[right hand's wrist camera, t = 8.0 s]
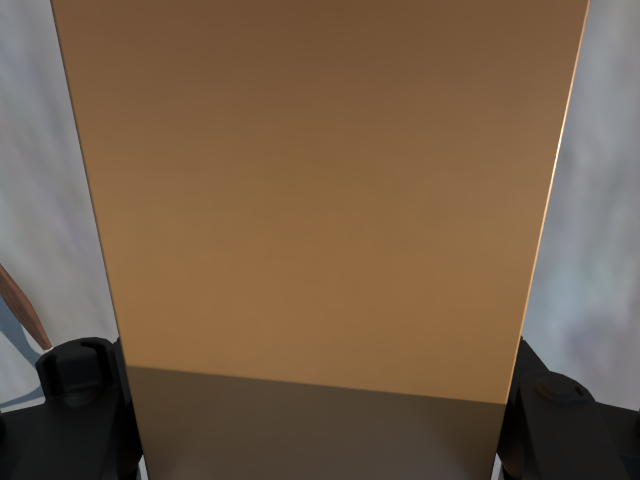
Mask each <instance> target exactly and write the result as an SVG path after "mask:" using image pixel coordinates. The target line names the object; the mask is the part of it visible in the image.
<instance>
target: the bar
mask: <svg viewBox="0 0 640 480" xmlns="http://www.w3.org/2000/svg"><path fill="white" fill-rule="evenodd" d="M590 1H591V0H50V3H51V7H52V12H53V17H54V22H55V27H56V32H57V37H58V42H59V46H60V51H61V56H62V61H63V66H64V71H65V76H66V80H67V85H68V90H69V95H70V100H71V105H72V110H73V115H74V119H75V124H76V129H77V134H78V139H79V144H80V149H81V154H82V158H83V163H84V168H85V173H86V178H87V183H88V188H89V193H90V197H91V202H92V207H93V212H94V217H95V222H96V227H97V232H98V236H99V241H100V246H101V251H102V256H103V261H104V266H105V270H106V275H107V280H108V285H109V290H110V295H111V300H112V305H113V309H114V314H115V319H116V324H117V329H118V334H119V339H120V344H121V348H122V353H123V358H124V363H125V368H126V373H127V378H128V383H129V387H130V392H131V397H132V402H133V407H134V412H135V417H136V422H137V426H138V431H139V436H140V441H141V446H142V451H143V456H144V460H145V465H146V470H147V475H148V480H491V476H492V471H493V466H494V462H495V457H496V452H497V447H498V442H499V438H500V433H501V428H502V423H503V418H504V414H505V409H506V404H507V399H508V394H509V390H510V385H511V380H512V375H513V370H514V366H515V361H516V356H517V351H518V346H519V342H520V337H521V332H522V327H523V322H524V318H525V313H526V308H527V303H528V298H529V294H530V289H531V284H532V279H533V274H534V270H535V265H536V260H537V255H538V250H539V246H540V241H541V236H542V231H543V226H544V222H545V217H546V212H547V207H548V202H549V198H550V193H551V188H552V183H553V178H554V173H555V169H556V164H557V159H558V154H559V149H560V145H561V140H562V135H563V130H564V125H565V121H566V116H567V111H568V106H569V101H570V97H571V92H572V87H573V82H574V77H575V73H576V68H577V63H578V58H579V53H580V49H581V44H582V39H583V34H584V29H585V25H586V20H587V15H588V10H589V5H590Z"/></svg>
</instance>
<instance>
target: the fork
mask: <svg viewBox="0 0 640 480" xmlns="http://www.w3.org/2000/svg"><path fill="white" fill-rule="evenodd" d="M0 294H1V295H2V297H3V299H4V301H5V302H6V304H7V306H8V307H9V309H10V310H11V311H12V313H13V314H14V315H15V317H16V318H17V319H18V320H19V322H20V323H21V324H22V325H23V326H24V328H25V329H26V330H27V331H28V332H29V334H30V335H31V336H32V337H33V338H34V339H35V341H36V342H37V343H38V344H39V345H40V346H41V348H42V349H43V350H44V351H45V353H47V352H48V351H50V350H51V349H53V347H52V345H51V343H50V341H49V339H48V337H47V335H46V333H45V331H44V328H43V326H42V324H41V322H40V320H39V318H38V316H37V314H36V312H35V310H34V308H33V307H32V305H31V303H30V302H29V300H28V299H27V297H26V296H25V294H24V293H23V292H22V290H21V289H20V288H19V287H18V285H17V284H16V283H15V282H14V280H13V279H12V278H11V277H10V275H9V274H8V273H7V272H6V270H5V269H4V268H3V266H2V265H1V264H0Z"/></svg>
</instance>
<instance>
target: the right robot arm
mask: <svg viewBox="0 0 640 480" xmlns="http://www.w3.org/2000/svg"><path fill="white" fill-rule="evenodd" d="M35 366H36V369H37V372H38V376H39V379H40V382H41V385H42V389H43V392H44V395H45V399H46V400H45V402H44V404H40V405H37V406H32V407H28V408H23V409H19V410H14V411H9V412H5V413H1V411H0V480H141V473H140V468H139V461H140V459H141V457H142V455H143V451H142V446H141V441H140V436H139V431H138V426H137V422H136V417H135V412H134V407H133V402H132V397H131V392H130V387H129V383H128V378H127V373H126V368H125V363H124V358H123V353H122V348H121V344H120V339H119V337H118V338H117V342H114V343H113V344H112V343H111V342H110V341H108V340H107V339H103V338H98V337H89V338H80V339H76V340H72V341H68V342H66V343H63V344H61V345H59V346H56V347H54V348H53V349H51V350H50V351H48V352H47V353H45V354H44V355H42V356H41V357H40V359H39V360H38V361H37V362H36V363H35ZM497 454H498V456H499V458H500V460H501V462H502V463H501V468H500V473H499V477H498V480H640V409H639V411H634V410H630V409H625V408H620V407H616V406H611V405H606V404H602V403H599V402H596V401H595V399H594V398H593V396H592V395H591V394H590V392H589V391H588V390H587V389H586V388H585V387H583V386H582V385H581V384H580V383H578V382H577V381H575V380H573V379H571V378H569V377H567V376H565V375H563V374H559V373H555V372H552V371H549V370H548V368H547V367H546V366H545V365H544V363H543V362H542V361H541V360H540V358H539V357H538V356H537V355H536V353H535V352H534V351H533V350H532V348H531V347H530V346H529V345H528V343H527V342H526V341H525V340H523V337H522V336H521V337H520V342H519V346H518V351H517V356H516V361H515V366H514V370H513V375H512V380H511V385H510V390H509V394H508V399H507V404H506V409H505V414H504V418H503V423H502V428H501V433H500V438H499V442H498V447H497Z"/></svg>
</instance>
